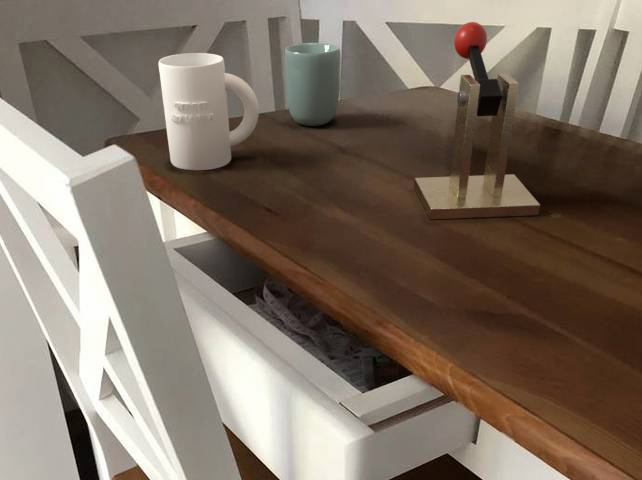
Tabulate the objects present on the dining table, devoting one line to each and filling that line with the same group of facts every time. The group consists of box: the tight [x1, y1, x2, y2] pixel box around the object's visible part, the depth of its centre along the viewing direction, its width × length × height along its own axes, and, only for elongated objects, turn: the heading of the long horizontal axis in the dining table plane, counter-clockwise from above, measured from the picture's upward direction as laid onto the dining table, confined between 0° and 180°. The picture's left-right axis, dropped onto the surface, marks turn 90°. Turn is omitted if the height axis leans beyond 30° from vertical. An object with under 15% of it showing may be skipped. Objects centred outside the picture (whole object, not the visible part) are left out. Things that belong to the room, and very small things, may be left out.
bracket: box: [413, 73, 541, 220], centre depth 80 cm, size 10×12×13 cm
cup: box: [284, 42, 342, 127], centre depth 107 cm, size 8×8×10 cm
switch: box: [453, 21, 502, 117], centre depth 80 cm, size 13×4×4 cm, turn 4°
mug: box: [157, 52, 260, 171], centre depth 93 cm, size 8×12×12 cm
